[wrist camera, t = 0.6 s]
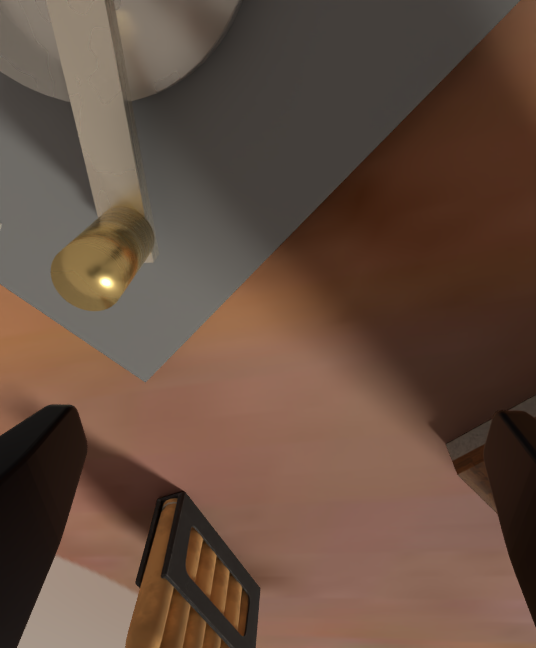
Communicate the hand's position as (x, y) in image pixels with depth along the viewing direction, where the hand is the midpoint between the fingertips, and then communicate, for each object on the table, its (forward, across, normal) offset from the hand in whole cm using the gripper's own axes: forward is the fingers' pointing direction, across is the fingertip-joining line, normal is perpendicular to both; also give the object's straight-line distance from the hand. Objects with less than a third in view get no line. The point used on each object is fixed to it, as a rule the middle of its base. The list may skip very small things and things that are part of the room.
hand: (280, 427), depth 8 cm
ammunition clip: (+13, +5, +22) cm, 26 cm away
